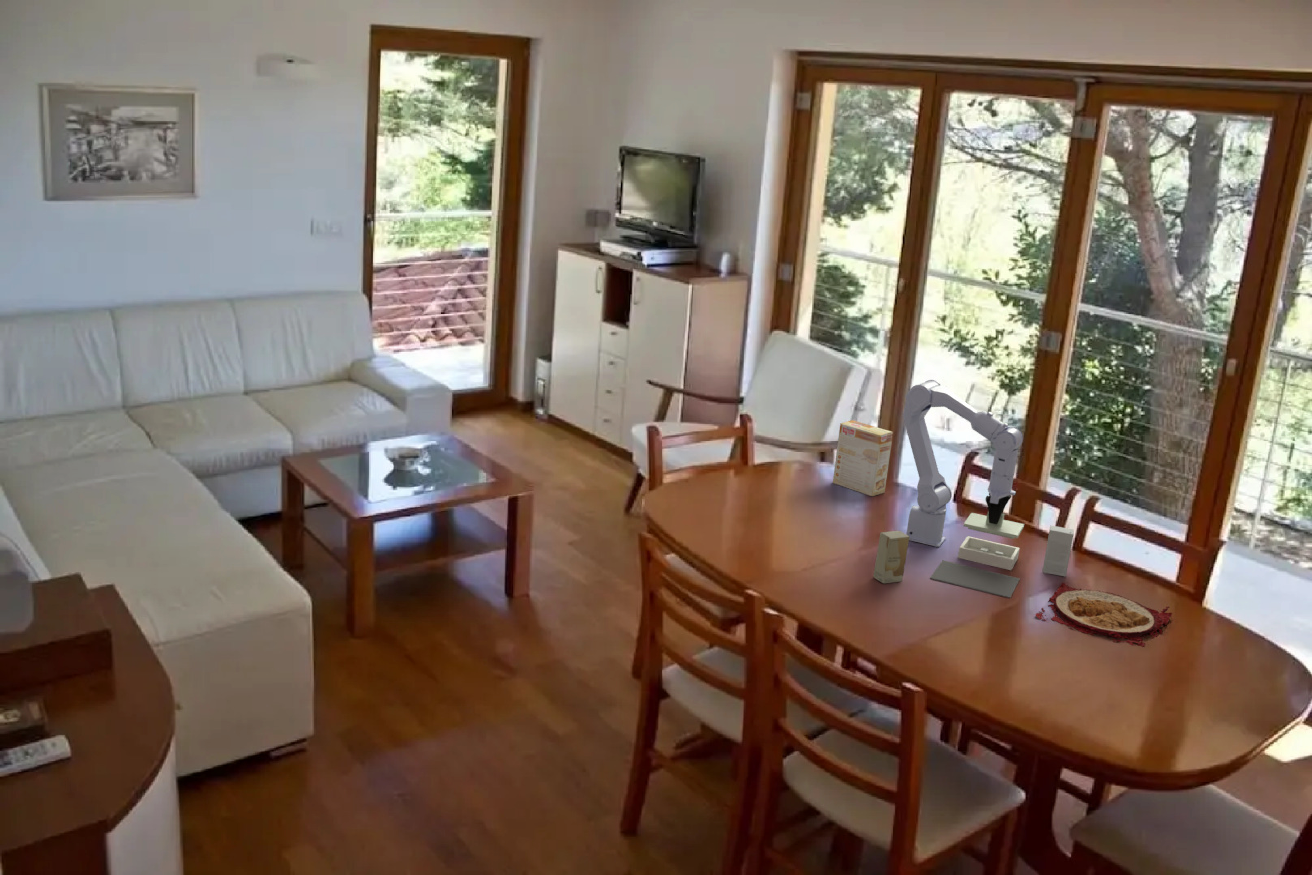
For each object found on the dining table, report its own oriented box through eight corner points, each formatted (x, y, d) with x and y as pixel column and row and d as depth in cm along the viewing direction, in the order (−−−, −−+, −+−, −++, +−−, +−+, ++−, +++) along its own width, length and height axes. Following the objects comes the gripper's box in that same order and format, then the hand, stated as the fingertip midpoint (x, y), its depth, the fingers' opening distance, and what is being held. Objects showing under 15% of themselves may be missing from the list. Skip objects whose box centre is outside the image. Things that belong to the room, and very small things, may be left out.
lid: (962, 529, 319) (965, 512, 318) (970, 518, 328) (973, 502, 327) (1016, 541, 314) (1019, 524, 312) (1023, 529, 322) (1026, 513, 321)
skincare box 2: (1066, 571, 318) (1074, 529, 315) (1065, 577, 315) (1074, 534, 311) (1042, 566, 320) (1050, 524, 317) (1041, 572, 316) (1049, 529, 313)
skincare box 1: (883, 584, 300) (889, 538, 297) (872, 577, 304) (879, 532, 300) (903, 581, 303) (910, 535, 300) (892, 574, 307) (899, 529, 303)
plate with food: (1061, 589, 309) (1063, 576, 308) (1171, 618, 295) (1173, 605, 294) (1032, 622, 289) (1034, 608, 288) (1148, 654, 275) (1151, 640, 274)
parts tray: (957, 557, 322) (959, 547, 321) (965, 546, 330) (967, 536, 329) (1011, 570, 316) (1013, 559, 315) (1017, 558, 325) (1019, 547, 324)
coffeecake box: (885, 492, 369) (894, 431, 363) (872, 497, 364) (880, 435, 358) (845, 479, 378) (853, 419, 373) (831, 483, 373) (839, 422, 368)
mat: (930, 578, 306) (930, 577, 306) (942, 561, 318) (942, 560, 318) (1010, 598, 298) (1010, 597, 298) (1019, 579, 310) (1019, 578, 310)
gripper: (1013, 483, 308) (1004, 533, 312) (1022, 469, 321) (1014, 517, 325) (985, 477, 311) (977, 527, 315) (996, 463, 324) (987, 511, 328)
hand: (994, 521), depth 320 cm, fingers closed on lid, 2 cm apart
